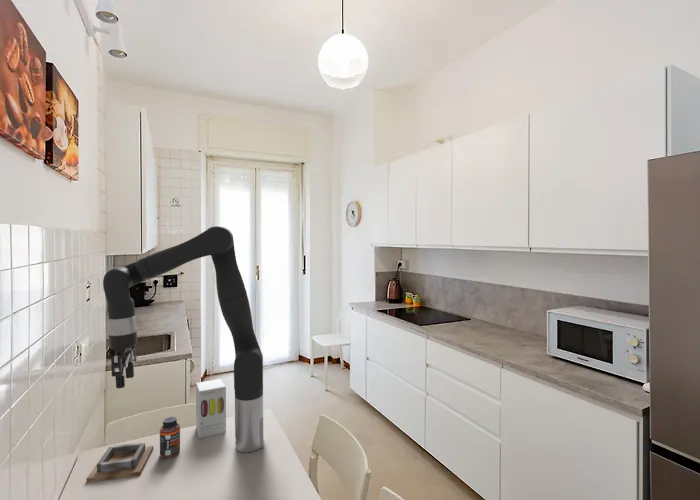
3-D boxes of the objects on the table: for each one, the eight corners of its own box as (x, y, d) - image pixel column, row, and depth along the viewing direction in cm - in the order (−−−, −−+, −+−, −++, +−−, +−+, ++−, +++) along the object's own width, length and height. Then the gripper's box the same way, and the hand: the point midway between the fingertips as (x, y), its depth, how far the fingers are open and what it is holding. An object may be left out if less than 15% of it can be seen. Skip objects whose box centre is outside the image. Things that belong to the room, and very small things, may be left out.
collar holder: (153, 449, 124) (153, 438, 123) (140, 475, 110) (140, 463, 110) (105, 455, 120) (105, 443, 120) (86, 482, 107) (86, 470, 106)
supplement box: (198, 439, 130) (198, 391, 129) (195, 427, 138) (194, 382, 138) (226, 432, 135) (226, 386, 134) (222, 421, 143) (221, 377, 142)
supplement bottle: (172, 460, 118) (171, 424, 117) (155, 457, 119) (155, 423, 118) (184, 449, 123) (183, 416, 123) (168, 447, 125) (167, 414, 124)
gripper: (128, 336, 110) (131, 390, 111) (142, 325, 124) (145, 373, 124) (99, 338, 108) (102, 393, 109) (117, 327, 122) (120, 375, 123)
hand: (125, 382), depth 117 cm, fingers open, 8 cm apart
